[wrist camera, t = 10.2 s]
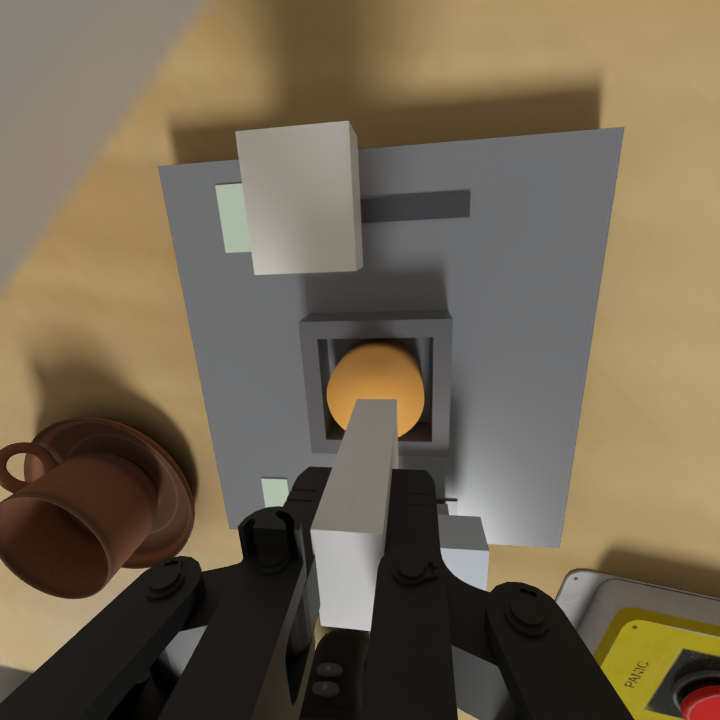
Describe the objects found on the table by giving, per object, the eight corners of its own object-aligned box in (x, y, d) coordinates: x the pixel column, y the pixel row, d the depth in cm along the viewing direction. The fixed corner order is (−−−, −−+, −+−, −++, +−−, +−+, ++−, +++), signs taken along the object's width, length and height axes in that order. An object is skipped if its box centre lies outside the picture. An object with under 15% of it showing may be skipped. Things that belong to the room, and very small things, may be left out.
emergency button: (800, 790, 22) (546, 728, 23) (738, 703, 26) (525, 654, 27) (896, 692, 19) (599, 625, 20) (809, 611, 23) (566, 559, 24)
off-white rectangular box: (365, 153, 15) (348, 120, 11) (370, 262, 17) (356, 271, 12) (283, 160, 16) (234, 131, 11) (293, 265, 17) (254, 274, 13)
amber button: (422, 336, 18) (424, 351, 15) (422, 418, 19) (424, 442, 17) (333, 337, 18) (323, 352, 16) (339, 416, 20) (330, 440, 17)
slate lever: (471, 480, 20) (489, 550, 15) (467, 545, 21) (483, 627, 17) (403, 478, 20) (402, 545, 16) (404, 541, 22) (403, 620, 17)
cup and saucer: (33, 494, 28) (-65, 561, 22) (75, 372, 24) (-32, 416, 18) (171, 572, 29) (111, 656, 23) (234, 467, 25) (181, 537, 19)
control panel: (599, 139, 16) (656, 110, 13) (547, 522, 23) (574, 578, 19) (182, 173, 19) (126, 157, 15) (242, 507, 26) (214, 554, 22)
